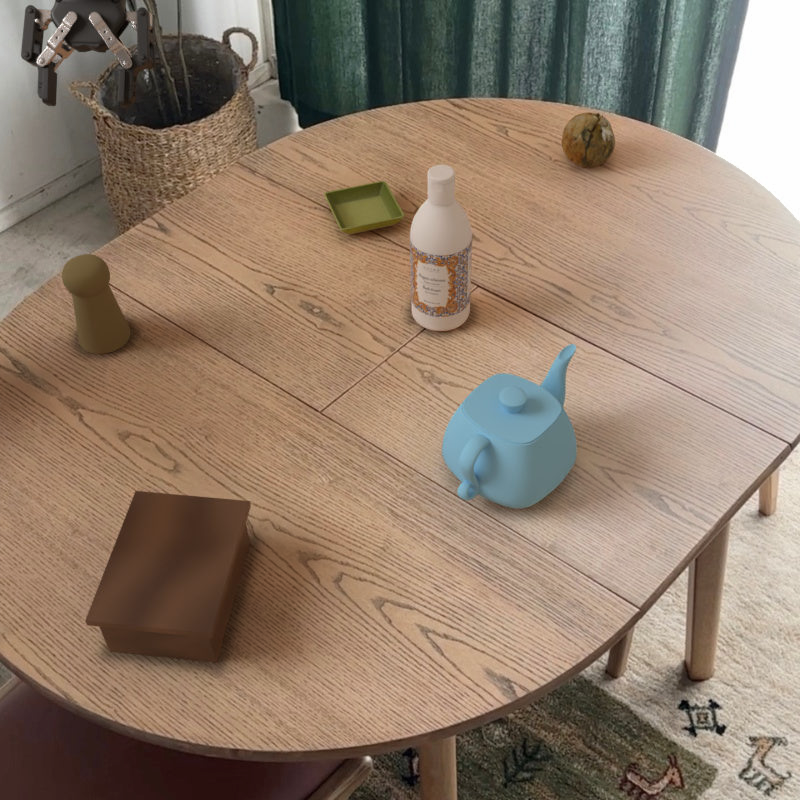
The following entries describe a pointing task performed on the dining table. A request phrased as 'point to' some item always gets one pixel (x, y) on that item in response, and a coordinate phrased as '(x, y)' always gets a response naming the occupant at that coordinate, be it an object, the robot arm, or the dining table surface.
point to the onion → (588, 140)
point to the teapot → (512, 438)
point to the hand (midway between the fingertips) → (86, 105)
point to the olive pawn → (95, 305)
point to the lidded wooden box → (172, 576)
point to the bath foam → (440, 256)
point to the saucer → (364, 207)
